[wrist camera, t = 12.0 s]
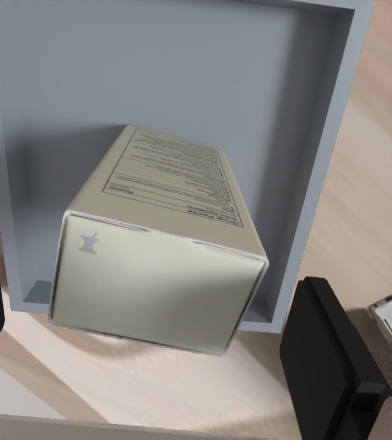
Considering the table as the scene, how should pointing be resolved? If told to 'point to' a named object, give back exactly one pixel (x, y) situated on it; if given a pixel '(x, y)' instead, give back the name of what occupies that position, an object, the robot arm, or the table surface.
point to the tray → (172, 114)
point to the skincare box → (158, 248)
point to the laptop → (383, 317)
